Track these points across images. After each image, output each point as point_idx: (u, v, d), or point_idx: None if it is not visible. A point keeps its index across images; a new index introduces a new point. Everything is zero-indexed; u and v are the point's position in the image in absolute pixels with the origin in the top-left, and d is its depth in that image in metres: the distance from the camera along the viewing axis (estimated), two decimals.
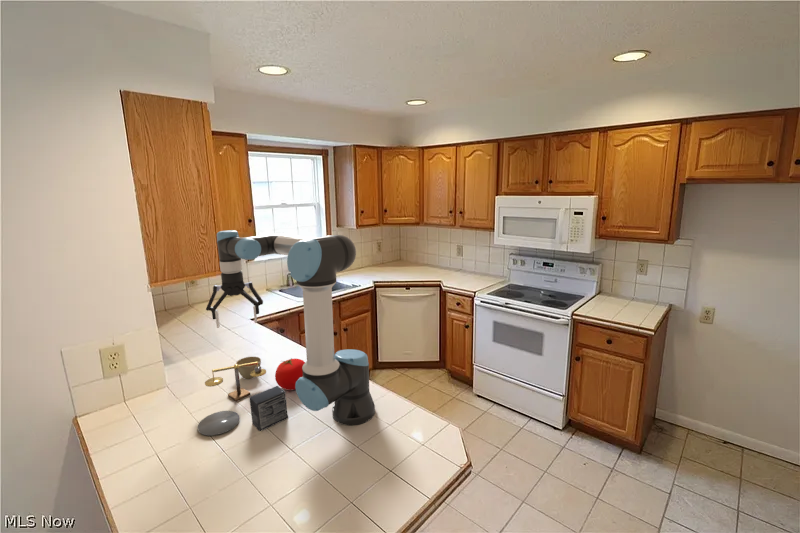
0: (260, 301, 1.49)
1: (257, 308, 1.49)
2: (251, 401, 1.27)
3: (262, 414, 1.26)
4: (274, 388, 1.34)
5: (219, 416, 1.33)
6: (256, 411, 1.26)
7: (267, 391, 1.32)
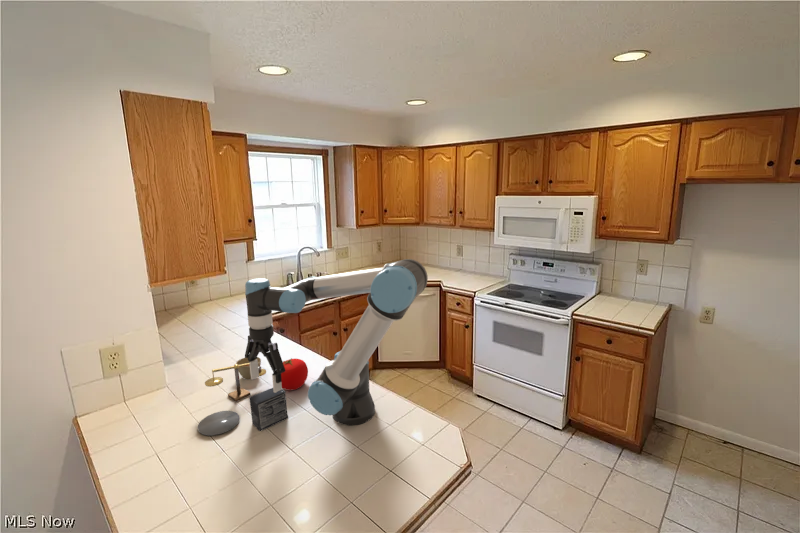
0: (277, 370, 1.21)
1: (276, 376, 1.23)
2: (251, 401, 1.28)
3: (262, 414, 1.26)
4: None
5: (219, 416, 1.33)
6: (256, 411, 1.26)
7: (267, 391, 1.32)
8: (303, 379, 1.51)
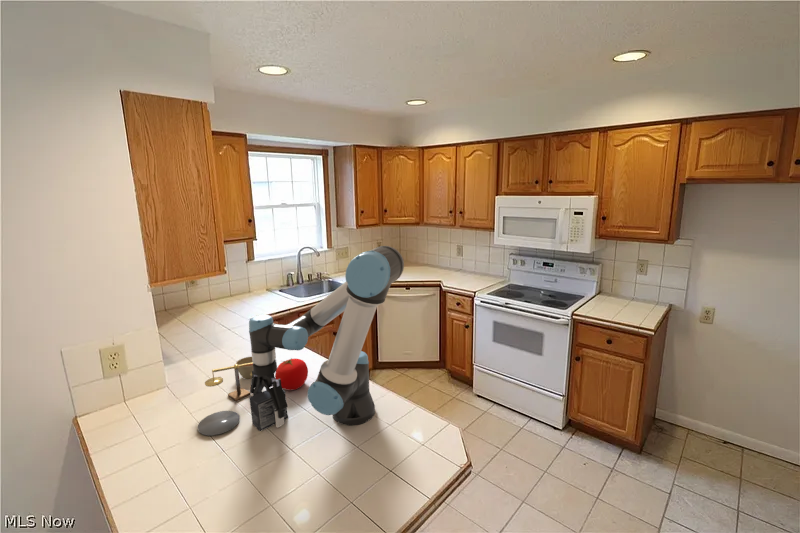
0: (279, 406, 1.24)
1: (279, 412, 1.26)
2: (251, 401, 1.28)
3: (262, 414, 1.26)
4: None
5: (219, 416, 1.33)
6: (256, 411, 1.26)
7: None
8: (303, 379, 1.51)
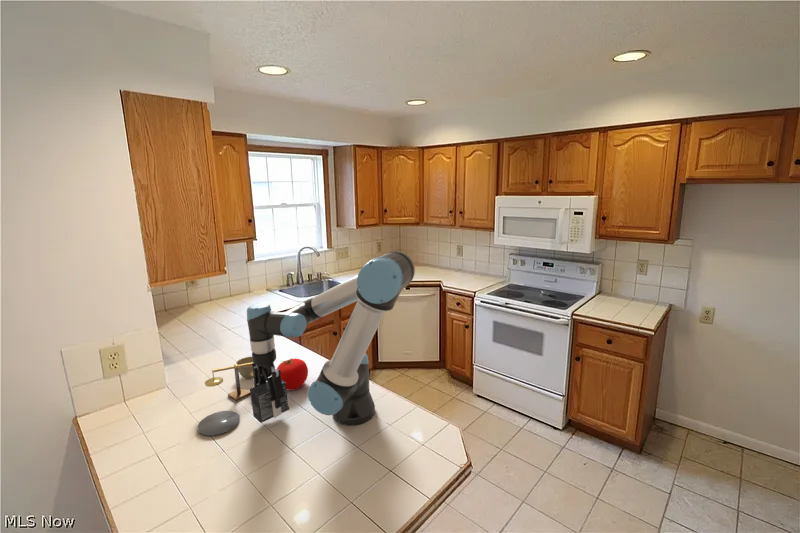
0: (276, 396, 1.25)
1: (275, 402, 1.27)
2: (251, 393, 1.27)
3: (263, 405, 1.26)
4: None
5: (219, 416, 1.33)
6: (257, 402, 1.25)
7: (267, 383, 1.31)
8: (303, 379, 1.51)
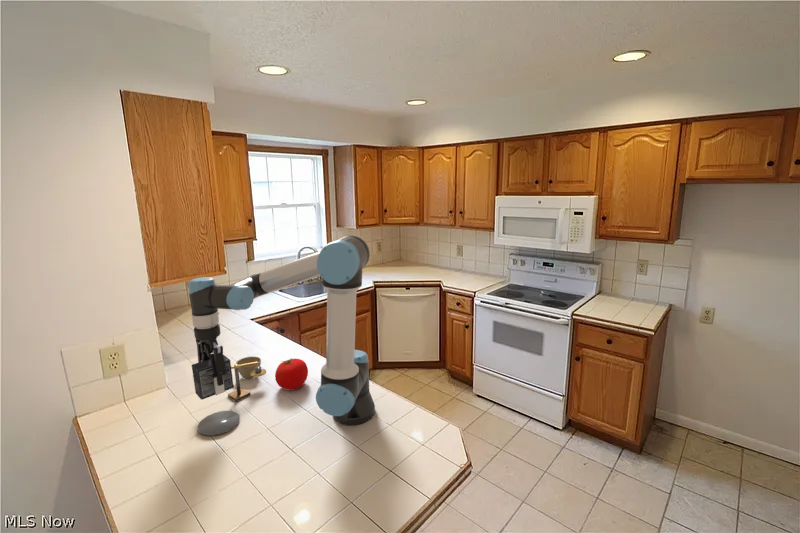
0: (217, 373, 1.21)
1: (217, 379, 1.23)
2: (193, 369, 1.23)
3: (204, 382, 1.22)
4: None
5: (219, 416, 1.33)
6: (197, 379, 1.21)
7: None
8: (303, 379, 1.51)
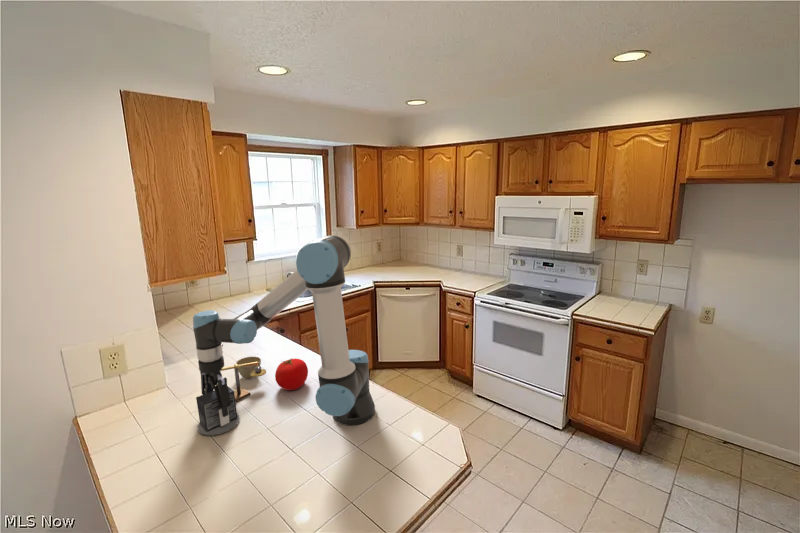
0: (222, 404, 1.23)
1: (222, 410, 1.25)
2: (198, 401, 1.25)
3: (209, 414, 1.24)
4: None
5: None
6: (202, 411, 1.24)
7: None
8: (303, 379, 1.51)
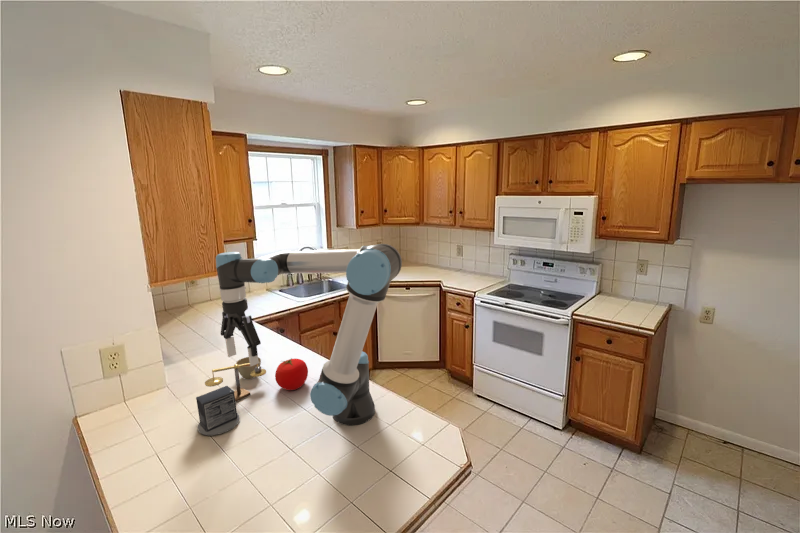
0: (252, 342, 1.20)
1: (252, 349, 1.22)
2: (198, 401, 1.25)
3: (209, 414, 1.24)
4: (223, 388, 1.32)
5: None
6: (202, 411, 1.24)
7: (215, 391, 1.30)
8: (303, 379, 1.51)
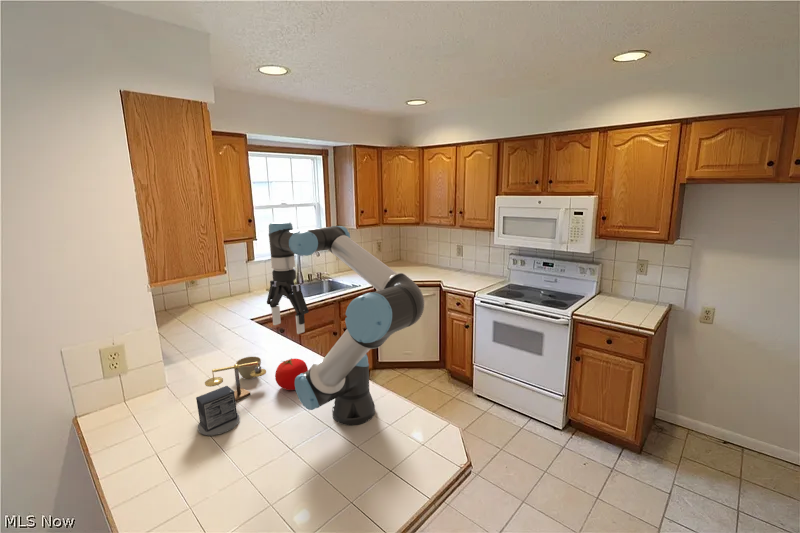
0: (300, 310, 1.23)
1: (300, 317, 1.25)
2: (198, 401, 1.25)
3: (209, 414, 1.24)
4: (223, 388, 1.32)
5: None
6: (202, 411, 1.24)
7: (215, 391, 1.30)
8: None
